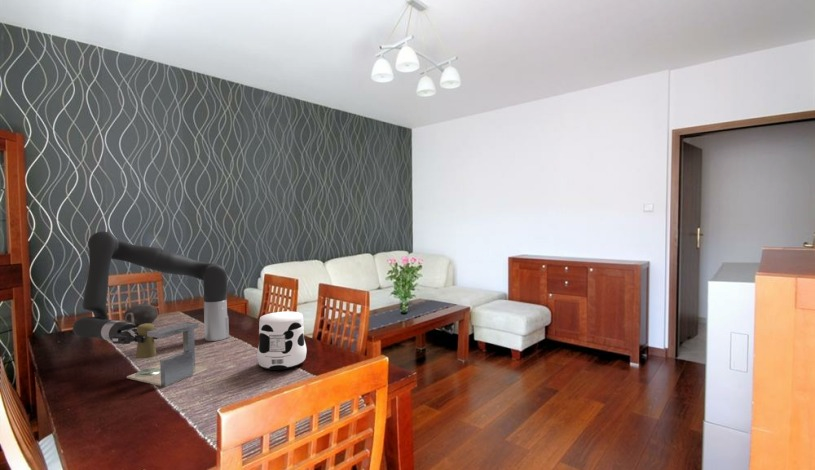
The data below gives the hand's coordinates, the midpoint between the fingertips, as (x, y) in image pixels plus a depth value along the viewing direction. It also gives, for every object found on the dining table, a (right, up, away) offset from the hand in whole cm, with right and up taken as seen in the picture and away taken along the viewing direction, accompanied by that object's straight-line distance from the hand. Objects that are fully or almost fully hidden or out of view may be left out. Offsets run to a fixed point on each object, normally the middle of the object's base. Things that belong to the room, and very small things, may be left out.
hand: (151, 338), depth 136 cm
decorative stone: (-48, -11, +67) cm, 83 cm away
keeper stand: (+4, -13, +2) cm, 14 cm away
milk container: (+42, -13, +10) cm, 45 cm away
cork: (-3, -7, +1) cm, 7 cm away
